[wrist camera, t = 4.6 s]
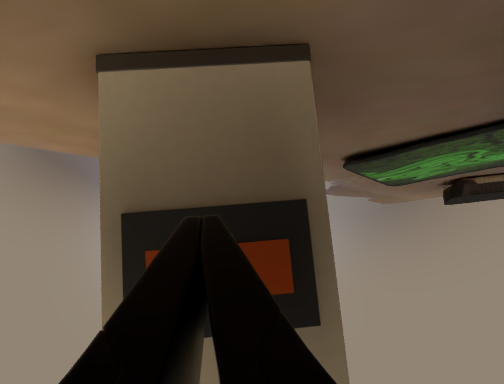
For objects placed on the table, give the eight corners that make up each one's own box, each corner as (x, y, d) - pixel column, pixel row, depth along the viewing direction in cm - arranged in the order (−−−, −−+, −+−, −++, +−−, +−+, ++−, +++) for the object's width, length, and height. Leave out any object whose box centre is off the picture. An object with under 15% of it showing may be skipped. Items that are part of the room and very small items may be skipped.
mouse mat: (766, 60, 21) (772, 76, 21) (643, 137, 39) (645, 146, 38) (334, 159, 36) (335, 168, 36) (388, 181, 54) (390, 188, 54)
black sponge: (436, 186, 65) (440, 205, 65) (452, 178, 57) (457, 200, 56) (534, 175, 62) (538, 195, 62) (566, 165, 54) (571, 188, 54)
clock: (91, 49, 14) (96, 439, 12) (311, 38, 15) (357, 408, 12) (131, 104, 20) (140, 381, 17) (290, 95, 20) (320, 361, 18)
